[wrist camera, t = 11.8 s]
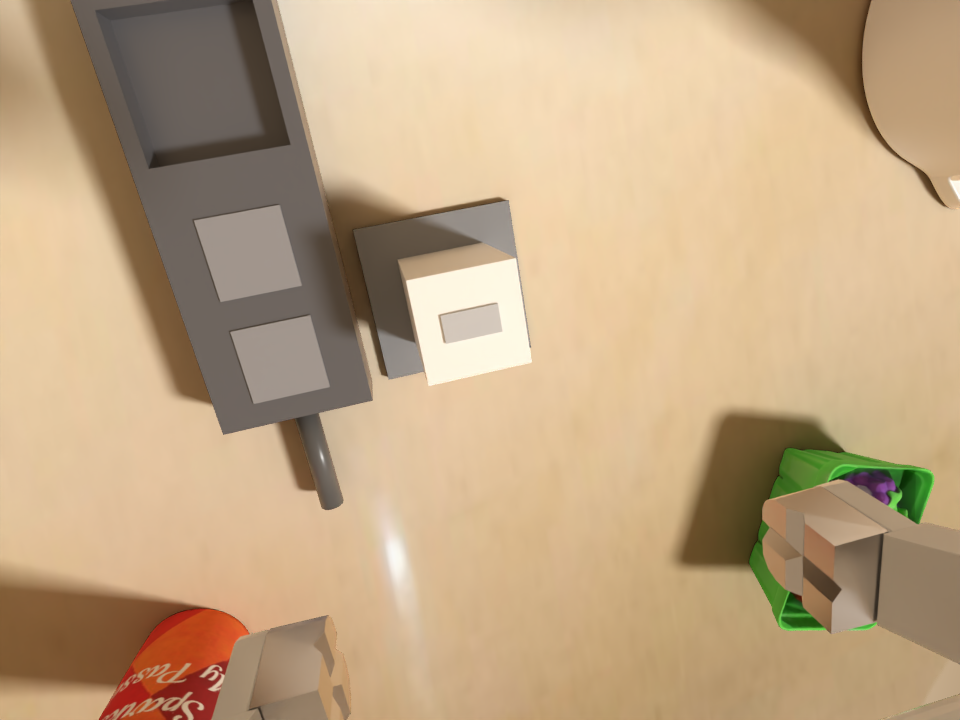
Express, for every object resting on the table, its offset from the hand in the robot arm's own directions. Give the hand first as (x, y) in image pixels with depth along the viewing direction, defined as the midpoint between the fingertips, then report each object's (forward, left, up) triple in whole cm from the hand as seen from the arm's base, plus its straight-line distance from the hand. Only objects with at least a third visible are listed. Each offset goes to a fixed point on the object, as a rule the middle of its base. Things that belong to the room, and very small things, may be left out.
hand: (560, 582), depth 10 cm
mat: (-1, -1, -22) cm, 22 cm away
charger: (-1, -1, -21) cm, 21 cm away
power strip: (+8, -4, -21) cm, 23 cm away
